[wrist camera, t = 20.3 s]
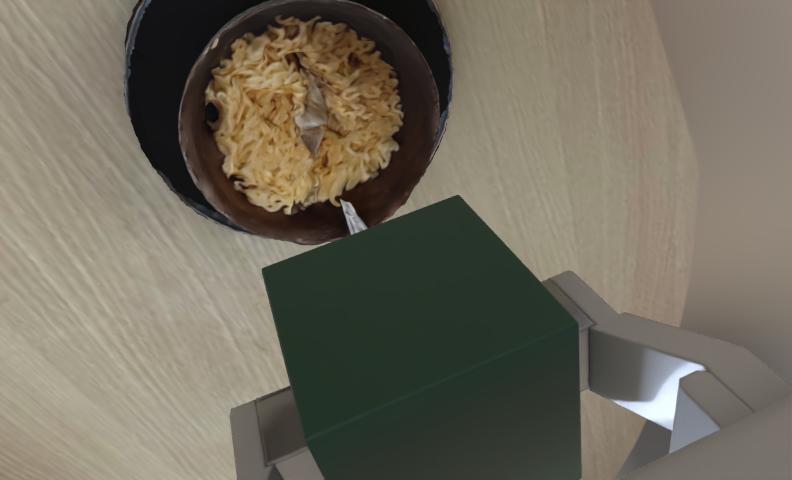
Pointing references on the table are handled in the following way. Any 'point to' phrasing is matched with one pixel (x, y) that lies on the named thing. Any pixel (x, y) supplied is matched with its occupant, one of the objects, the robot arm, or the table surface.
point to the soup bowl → (289, 108)
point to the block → (428, 354)
